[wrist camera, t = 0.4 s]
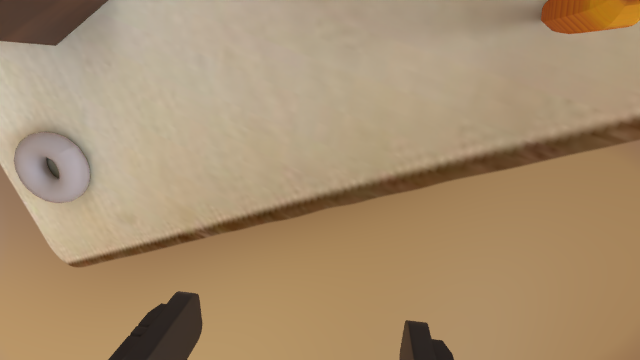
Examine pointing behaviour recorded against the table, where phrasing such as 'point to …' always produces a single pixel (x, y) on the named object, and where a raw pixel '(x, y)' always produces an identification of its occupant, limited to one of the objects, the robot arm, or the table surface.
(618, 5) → the carrot
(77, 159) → the donut
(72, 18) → the tray
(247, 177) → the table surface
